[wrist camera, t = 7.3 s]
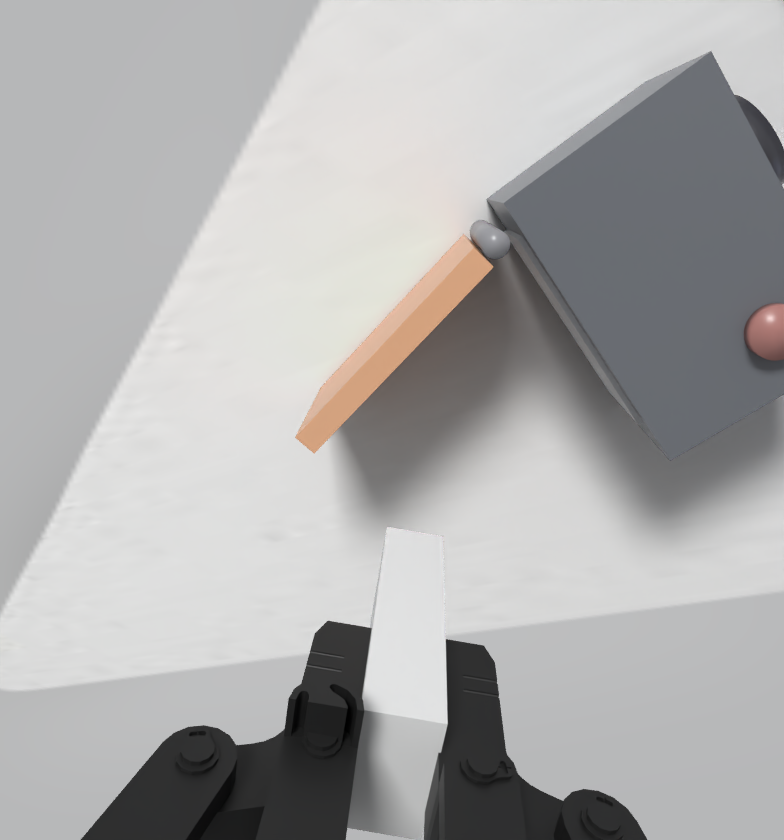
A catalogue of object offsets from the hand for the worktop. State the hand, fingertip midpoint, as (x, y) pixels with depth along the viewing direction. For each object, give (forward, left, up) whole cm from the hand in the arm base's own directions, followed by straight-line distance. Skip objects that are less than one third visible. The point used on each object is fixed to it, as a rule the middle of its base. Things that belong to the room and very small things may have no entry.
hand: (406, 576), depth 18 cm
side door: (+4, -2, -16) cm, 17 cm away
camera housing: (0, -12, -17) cm, 20 cm away
